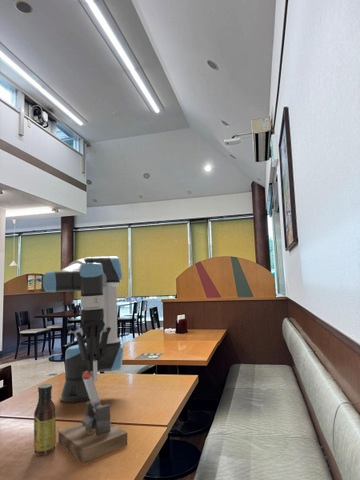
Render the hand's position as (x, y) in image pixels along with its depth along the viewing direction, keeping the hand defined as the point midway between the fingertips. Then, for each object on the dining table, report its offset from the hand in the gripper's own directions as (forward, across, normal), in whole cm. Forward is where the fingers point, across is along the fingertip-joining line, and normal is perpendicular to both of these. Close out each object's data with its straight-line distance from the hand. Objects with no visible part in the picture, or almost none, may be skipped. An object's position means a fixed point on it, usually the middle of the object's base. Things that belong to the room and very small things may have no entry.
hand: (93, 380), depth 109 cm
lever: (+13, 0, 0) cm, 13 cm away
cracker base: (+19, -1, 0) cm, 19 cm away
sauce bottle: (+19, -14, +6) cm, 25 cm away
